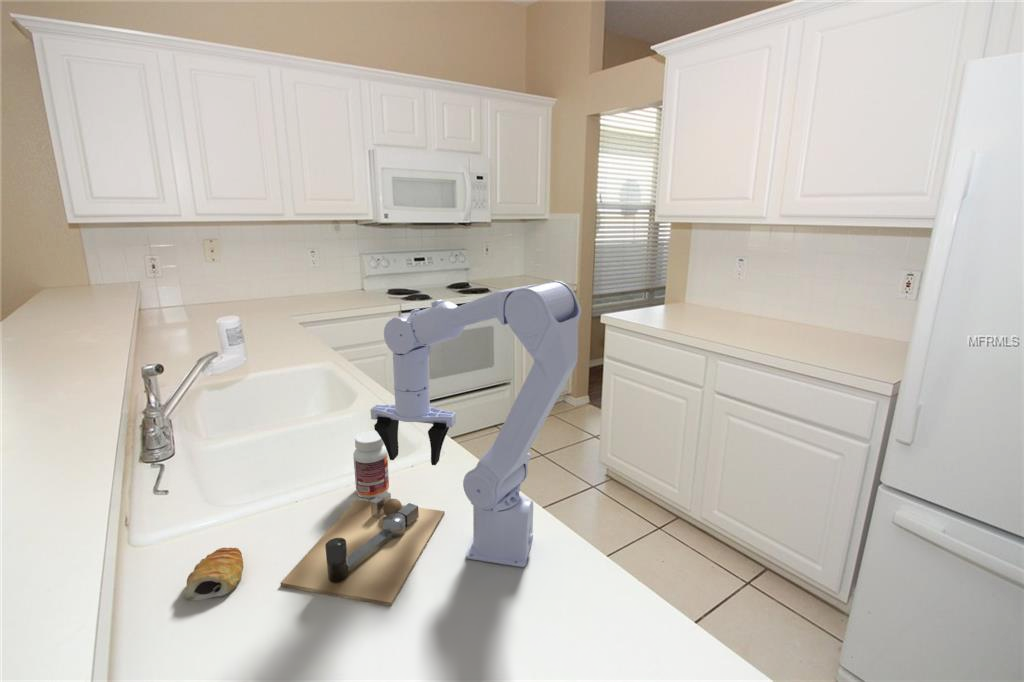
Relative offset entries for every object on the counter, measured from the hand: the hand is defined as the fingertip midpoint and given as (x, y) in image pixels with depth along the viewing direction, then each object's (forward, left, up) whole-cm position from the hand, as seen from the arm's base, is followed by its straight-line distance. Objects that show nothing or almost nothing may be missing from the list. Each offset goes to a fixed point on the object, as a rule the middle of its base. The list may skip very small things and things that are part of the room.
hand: (414, 460), depth 87 cm
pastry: (+22, +22, -11) cm, 33 cm away
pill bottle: (+11, -5, -11) cm, 16 cm away
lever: (+2, +11, -9) cm, 15 cm away
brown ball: (+3, +3, -8) cm, 9 cm away
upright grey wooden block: (+6, +2, -10) cm, 12 cm away
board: (+3, +10, -10) cm, 15 cm away
